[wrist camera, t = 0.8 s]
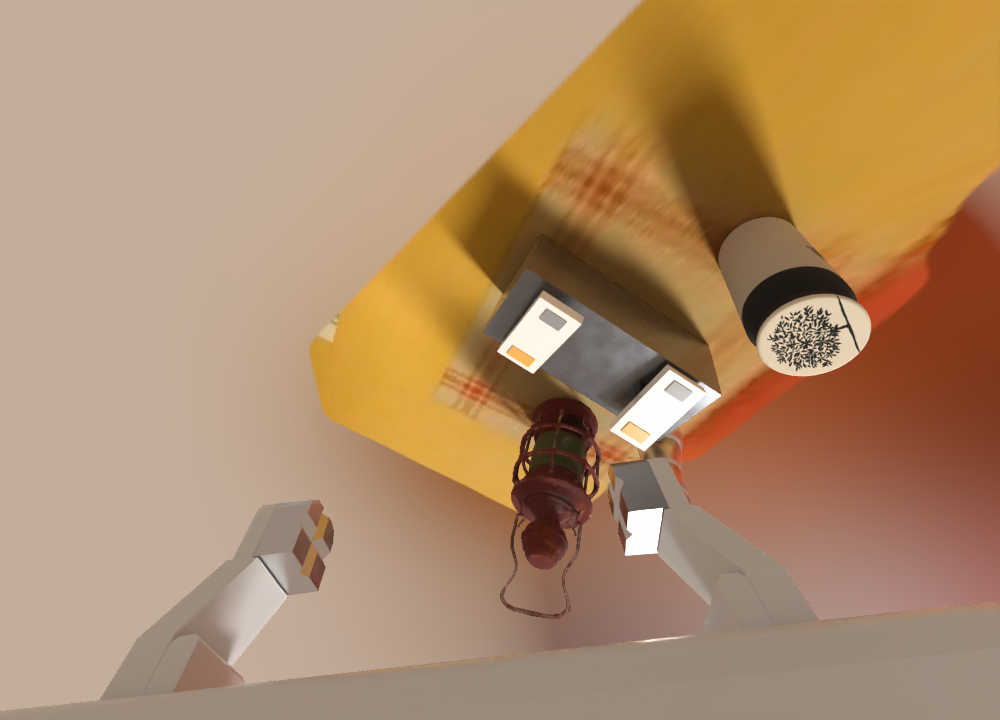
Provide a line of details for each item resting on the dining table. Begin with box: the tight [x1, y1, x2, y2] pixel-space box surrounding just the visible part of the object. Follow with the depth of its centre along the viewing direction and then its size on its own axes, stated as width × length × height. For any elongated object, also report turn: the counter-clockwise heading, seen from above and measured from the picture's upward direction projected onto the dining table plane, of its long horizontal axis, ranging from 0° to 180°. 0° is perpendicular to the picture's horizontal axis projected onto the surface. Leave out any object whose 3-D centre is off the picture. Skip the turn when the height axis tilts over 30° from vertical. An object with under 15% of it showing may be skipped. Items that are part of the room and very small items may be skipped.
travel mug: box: [718, 217, 871, 376], centre depth 40 cm, size 8×8×18 cm
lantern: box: [500, 399, 601, 619], centre depth 57 cm, size 12×12×30 cm
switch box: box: [483, 235, 722, 441], centre depth 52 cm, size 10×26×11 cm, turn 61°
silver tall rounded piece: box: [637, 427, 691, 505], centre depth 57 cm, size 6×7×20 cm
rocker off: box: [609, 364, 707, 451], centre depth 48 cm, size 10×5×1 cm, turn 151°
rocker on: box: [497, 291, 584, 374], centre depth 46 cm, size 10×5×1 cm, turn 151°
